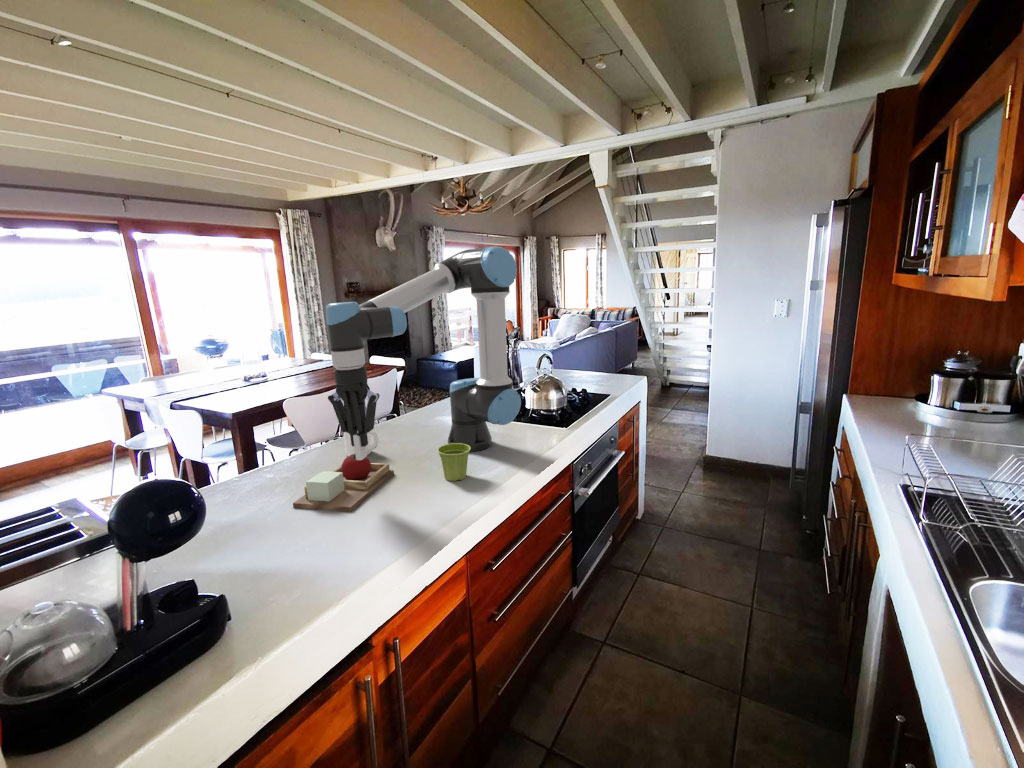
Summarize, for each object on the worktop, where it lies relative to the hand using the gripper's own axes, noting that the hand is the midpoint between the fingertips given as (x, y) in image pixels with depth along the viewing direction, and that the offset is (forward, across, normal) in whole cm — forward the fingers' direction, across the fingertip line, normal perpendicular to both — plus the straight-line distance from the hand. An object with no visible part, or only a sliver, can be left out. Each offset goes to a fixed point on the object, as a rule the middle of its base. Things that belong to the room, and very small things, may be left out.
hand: (361, 458), depth 119 cm
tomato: (+11, +9, -10) cm, 17 cm away
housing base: (+12, +9, -5) cm, 15 cm away
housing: (+10, +11, +1) cm, 15 cm away
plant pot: (+13, -18, -17) cm, 28 cm away
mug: (+12, +19, -32) cm, 39 cm away
